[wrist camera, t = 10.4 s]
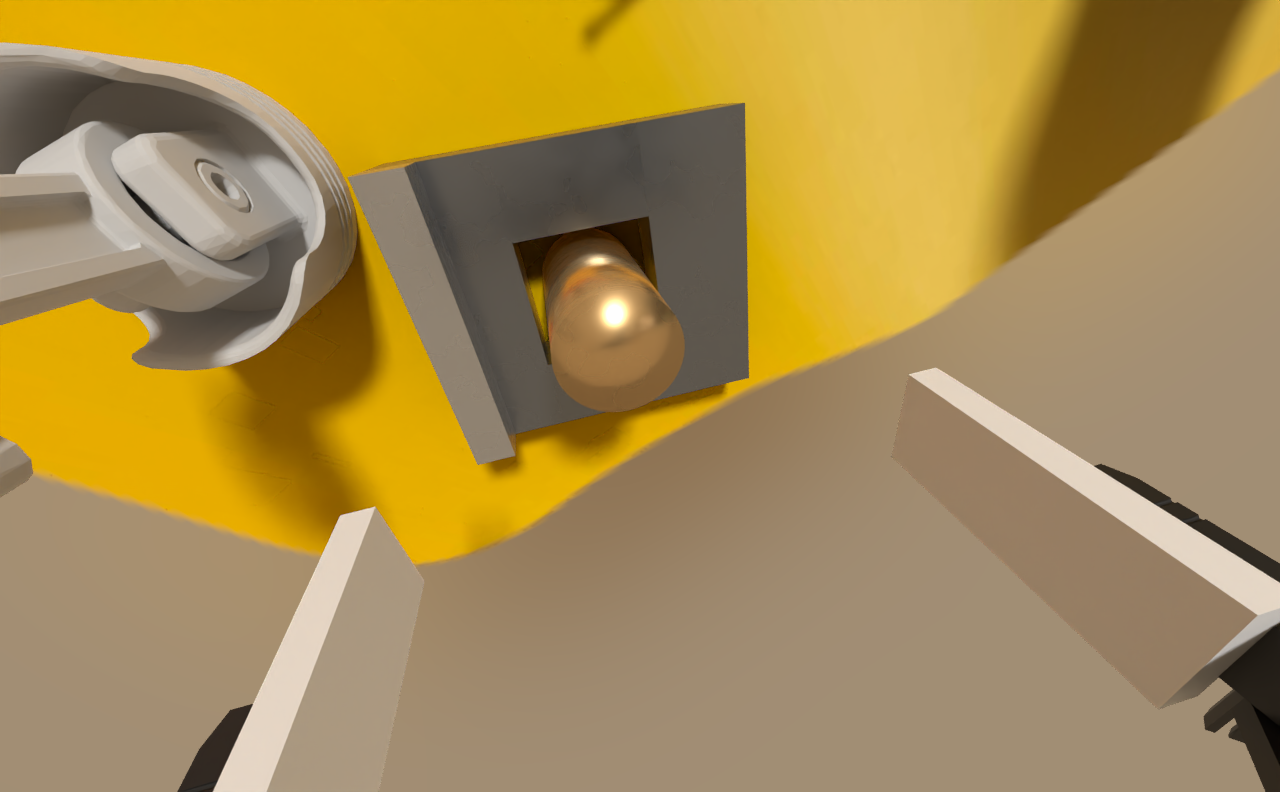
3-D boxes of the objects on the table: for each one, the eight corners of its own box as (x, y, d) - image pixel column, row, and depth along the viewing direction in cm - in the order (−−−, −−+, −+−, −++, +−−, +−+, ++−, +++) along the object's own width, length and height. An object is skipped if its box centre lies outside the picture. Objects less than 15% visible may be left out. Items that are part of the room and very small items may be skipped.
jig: (720, 104, 22) (764, 102, 18) (730, 355, 30) (763, 395, 26) (383, 164, 21) (347, 177, 17) (484, 413, 28) (477, 464, 24)
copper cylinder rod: (625, 219, 24) (677, 276, 16) (639, 307, 27) (690, 395, 19) (531, 238, 24) (534, 307, 15) (555, 326, 26) (569, 425, 18)
